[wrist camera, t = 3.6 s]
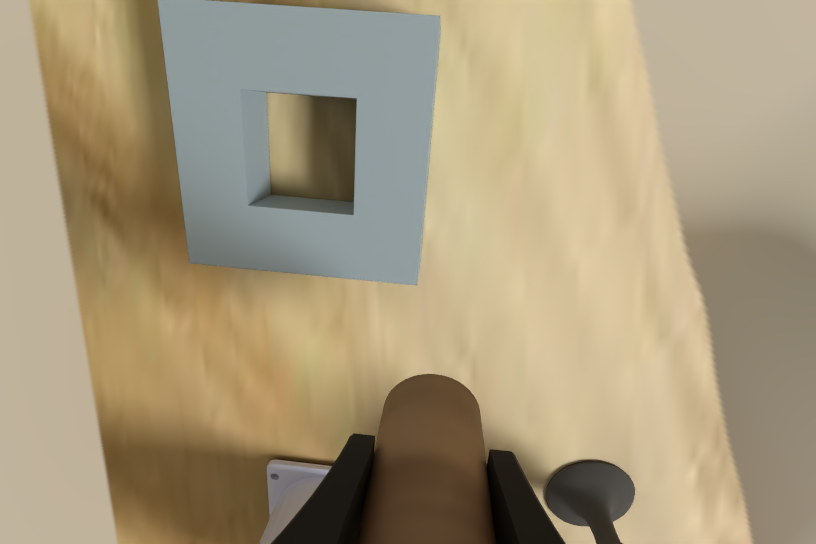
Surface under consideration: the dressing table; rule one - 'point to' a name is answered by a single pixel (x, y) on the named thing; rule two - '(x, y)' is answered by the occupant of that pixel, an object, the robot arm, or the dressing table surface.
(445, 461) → the peg
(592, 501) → the sundae
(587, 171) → the dressing table surface
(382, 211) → the socket block
